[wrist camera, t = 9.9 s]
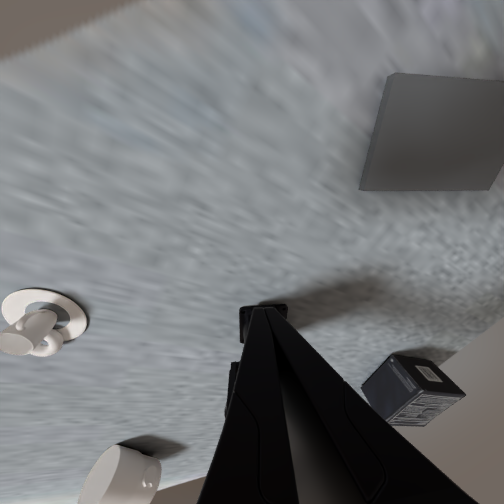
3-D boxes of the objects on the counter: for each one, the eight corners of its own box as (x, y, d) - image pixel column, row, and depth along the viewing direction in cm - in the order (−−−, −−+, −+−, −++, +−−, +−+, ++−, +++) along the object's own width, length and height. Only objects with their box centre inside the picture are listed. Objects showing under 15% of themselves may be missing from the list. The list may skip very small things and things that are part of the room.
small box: (389, 351, 34) (357, 386, 38) (423, 390, 28) (381, 427, 32) (429, 358, 36) (396, 390, 40) (468, 396, 31) (425, 429, 34)
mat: (480, 189, 21) (488, 190, 21) (358, 189, 19) (363, 190, 19) (533, 88, 17) (547, 84, 17) (387, 76, 16) (395, 72, 15)
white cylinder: (130, 435, 35) (106, 505, 28) (166, 449, 39) (153, 512, 32) (85, 459, 37) (51, 530, 30) (124, 469, 41) (102, 534, 34)
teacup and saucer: (64, 350, 24) (36, 383, 21) (-11, 320, 21) (-60, 353, 17) (103, 312, 23) (79, 341, 19) (28, 273, 19) (-18, 299, 16)
